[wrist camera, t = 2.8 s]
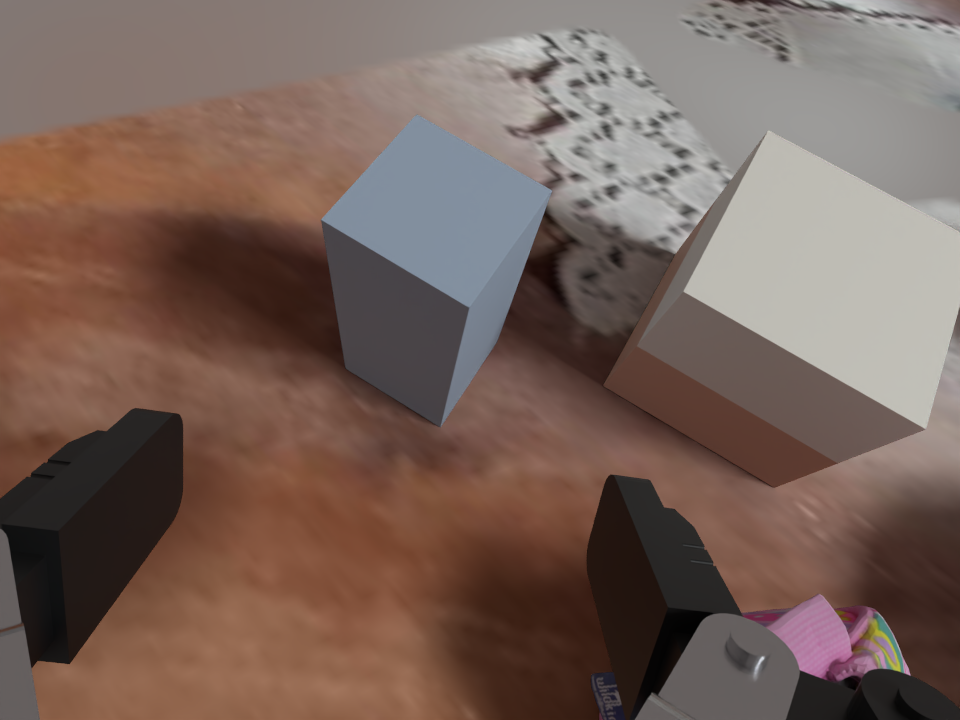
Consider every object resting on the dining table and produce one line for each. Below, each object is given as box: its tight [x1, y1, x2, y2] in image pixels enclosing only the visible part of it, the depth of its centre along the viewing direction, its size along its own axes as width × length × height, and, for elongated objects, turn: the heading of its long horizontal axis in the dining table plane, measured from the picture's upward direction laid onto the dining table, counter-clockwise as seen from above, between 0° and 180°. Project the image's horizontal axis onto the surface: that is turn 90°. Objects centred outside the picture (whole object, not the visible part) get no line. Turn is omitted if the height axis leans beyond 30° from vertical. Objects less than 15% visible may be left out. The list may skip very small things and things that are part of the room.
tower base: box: [603, 131, 960, 488], centre depth 24 cm, size 8×8×8 cm
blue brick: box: [321, 114, 552, 427], centre depth 22 cm, size 4×4×10 cm
